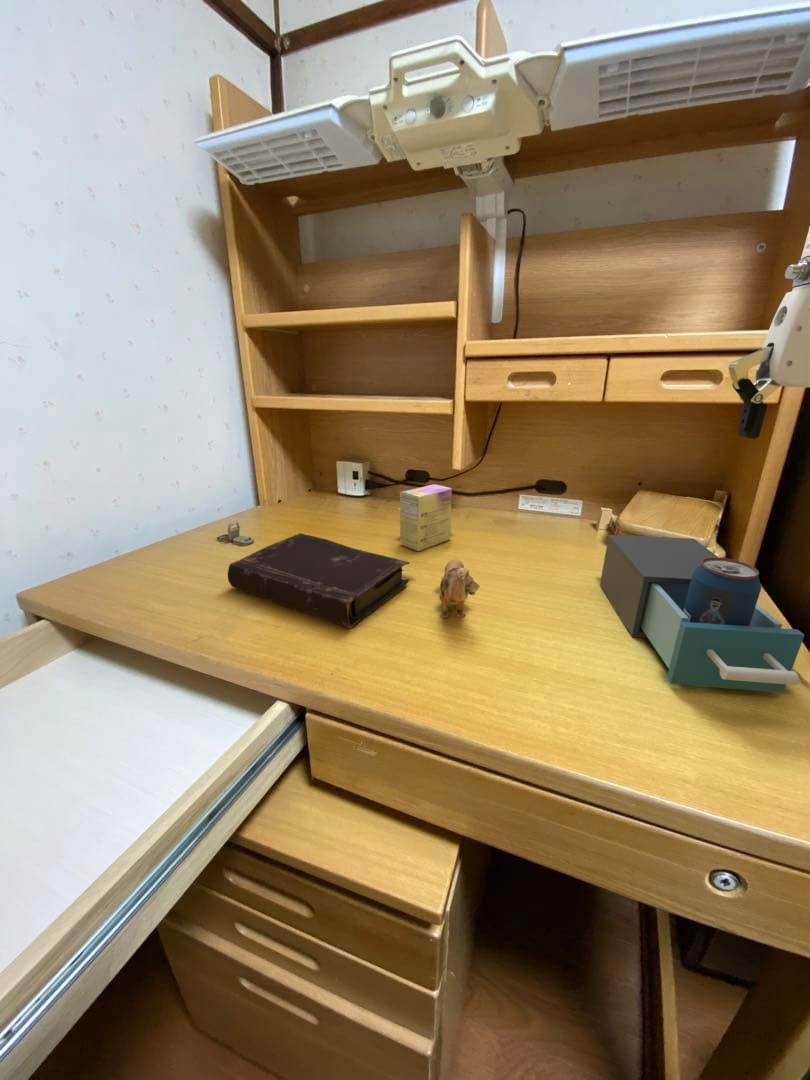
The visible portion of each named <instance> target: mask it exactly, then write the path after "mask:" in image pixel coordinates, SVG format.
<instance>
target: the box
mask: <svg viewBox="0 0 810 1080" xmlns="http://www.w3.org/2000/svg"><path fill="white" fill-rule="evenodd" d="M452 496H453V488H452V487H448V486H444V485H440V484H435V483H434V484H429V485H424V486H422V487H421V486H420V487H416V488H412V489H407V490H403V491H400V492H399V545H400V546H403V547H405V548H408V549H411V550H414V551H417V552H420V551H422V550H425V549H428V548H431V547H433V546H436V545H438V544H442V543H444V542H446V541H447V542H449V541H450V540H451V526H452V525H451V524H452V523H451V522H452V521H451V520H452V500H453V499H452V498H453V497H452Z"/></svg>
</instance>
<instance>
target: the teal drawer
mask: <svg viewBox="0 0 810 1080" xmlns="http://www.w3.org/2000/svg"><path fill="white" fill-rule="evenodd" d="M689 586H690V584H680V583H663V582H649V586H648V590H647V595H646V599H645V604H644V608H643V613H642V617H641V622H640V627H641V628H642V630H643V631H644V633H645V634H646V636H647V637H648V638H647V639H648V641H649V642H650V644H651V645H652V646H653V648H654V649H655V650H656V652H657V653H658V655H659V656H660V658H661V660H662V661H663V662H664V665H666V667H667V669H668V672H667V675H666V678H667V680H668V681H669V683H670V684H672V685H680V686H681V685H683V686H694V687H695V686H696V687H697V686H698V687H706V688H707V687H709V688H721V689H733V690H743V691H744V690H745V691H756V692H757V691H759V692H770V693H771V692H772V693H781V694H782V693H784V692H785V690H786V686H787V685H789V686H790V685H791V686H796V685H798V684H799V681H800V676H799V675H798V673H797V672H796V671H794V670H793V668H794V665H795V662H796V660H797V657H798V654H799V651H800V648H801V646H802V643H803V641H804V638H805V634H804V633H803V632H801V631H800V630H799V629H797V628H783V624H782V622H780V620H778V619H777V618H775V617H774V616H773V615H772V614H771V613H769V612H768V611H767V610H766V609H764V608H763V607H762V606H760V605H759V604H758V603H757V604H756V607H755V610H754V613H753V616H752V620H751V623H750V626H738V625H723V624H708V623H692V622H688V619H689V618H688V617H687V616H686V615H685V613H684V612H683V610H684V606H685V602H686V598H687V594H688V590H689Z"/></svg>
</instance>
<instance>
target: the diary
mask: <svg viewBox="0 0 810 1080" xmlns="http://www.w3.org/2000/svg"><path fill="white" fill-rule="evenodd" d="M409 564H410V561H408V560H407V561H406V560H404V559H399V558H395V557H390V556H386V555H383V554H378V553H375V552H370V551H366V550H362V549H358V548H353V547H351V546H347V545H344V544H341V543H338V542H337V541H333V540H330V539H327V538H323V537H318V536H313V535H310V534H307V533H306V534H305V533H297V534H295V535H292V536H290V537H286V538H285V539H282V540H280V541H277V542H275V543H272V544H270V545H267V546H264V547H263V548H261V549H259V550H256V551H255V552H253V553H251V554H249V555H246V556H244V557H242V558H241V559H238V560H235V561H234V562H231V563H229V565H228V569H227V573H226V574H227V581H228V583H229V584H230V586H231V587H232V588H233V589H237V590H239V591H243V592H247V593H250V594H253V595H257V596H259V597H263V598H265V599H268V600H270V601H273V602H274V603H278V604H280V605H283V606H285V607H289V608H292V609H295V610H298V611H300V612H304V613H308V614H310V615H314V616H317V617H320V618H322V619H325V620H327V621H330V622H332V623H335V624H337V625H340V626H342V627H345V628H348V629H352V627H354V626H355V625H356V624H358V622H360V621H362V620H363V619H364V618H366V617H367V616H368V615H369V614H371V613H372V612H374V611H375V610H376V609H378V608H379V607H380V606H382V605H383V604H384V603H385V602H388V601H389V600H390V599H391V598H392V597H393V596H395V595H396V594H397V593H398V592H399V591H401V590H402V589H403V588H404V587H405V586H406V585H407V584H408V582H410V579H409V578H407V579H406V578H405V579H404V578H403V571H404V569H403V567H404V566H406V565H409Z"/></svg>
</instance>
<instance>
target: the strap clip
mask: <svg viewBox="0 0 810 1080" xmlns="http://www.w3.org/2000/svg"><path fill="white" fill-rule="evenodd" d="M235 525H236V526H235ZM232 526H235V527H233V528H232ZM240 531H241V527H240V523H239V521H232V522H230V523H229V524H228V526H227V534H222V535H219V536H217V537H216V540H218V541H220V542H224V543H231V542H232V543H233V544H235V545H238V546H247V545H250V544H253V543H254V541H255V539H254V538H253V537H251V536H246V535H240V533H241V532H240Z"/></svg>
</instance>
